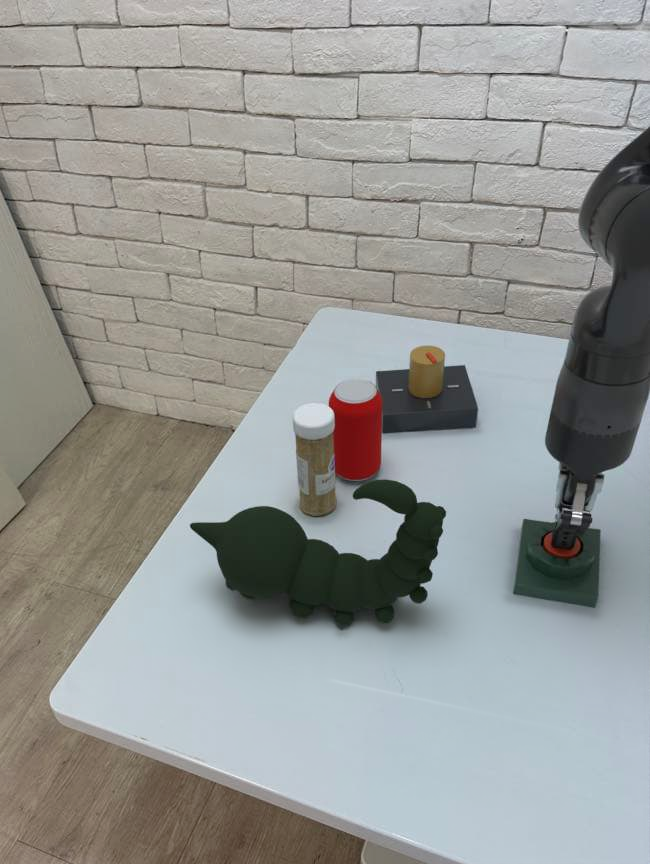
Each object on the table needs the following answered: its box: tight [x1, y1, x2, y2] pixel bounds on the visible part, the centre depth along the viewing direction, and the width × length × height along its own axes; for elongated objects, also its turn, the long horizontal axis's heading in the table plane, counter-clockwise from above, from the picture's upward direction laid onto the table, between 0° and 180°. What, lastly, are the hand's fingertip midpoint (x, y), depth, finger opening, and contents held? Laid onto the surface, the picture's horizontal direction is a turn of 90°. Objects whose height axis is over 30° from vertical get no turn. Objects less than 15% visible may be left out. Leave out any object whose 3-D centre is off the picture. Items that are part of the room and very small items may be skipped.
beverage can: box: [328, 378, 383, 482], centre depth 96 cm, size 6×6×12 cm
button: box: [543, 532, 581, 559], centre depth 84 cm, size 4×4×2 cm
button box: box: [512, 518, 601, 608], centre depth 84 cm, size 10×8×4 cm
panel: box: [375, 364, 479, 434], centre depth 107 cm, size 12×10×3 cm
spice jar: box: [292, 402, 337, 517], centre depth 92 cm, size 5×5×14 cm
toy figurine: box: [189, 478, 447, 627], centre depth 80 cm, size 9×19×25 cm
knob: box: [408, 344, 446, 398], centre depth 104 cm, size 4×4×6 cm
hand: (562, 543), depth 83 cm, fingers closed
